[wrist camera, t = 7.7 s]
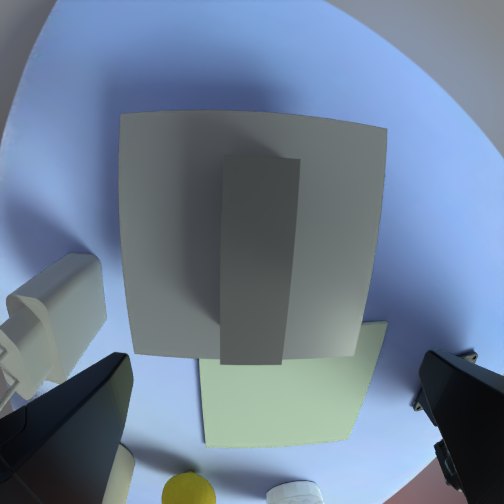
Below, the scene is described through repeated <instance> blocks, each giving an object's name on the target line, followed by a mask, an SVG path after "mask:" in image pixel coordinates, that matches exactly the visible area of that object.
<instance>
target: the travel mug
mask: <svg viewBox="0 0 504 504" xmlns="http://www.w3.org/2000/svg"><path fill="white" fill-rule="evenodd" d="M134 466H135V460H134V457H133V456H132V454H131V453H130V452H129V451H128V450H127V449H126V448H124V447H123V446H122V445H120V444H119V446H118V450H117V453H116V456H115V459H114V463H113V466H112V470H111V473H110V476H109V480H108V483H107V487H106V491H105V494H104V498H103V502H102V504H126V501H127V496H128V492H129V487H130V483H131V479H132V475H133V471H134Z"/></svg>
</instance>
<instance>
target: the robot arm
mask: <svg viewBox="0 0 504 504" xmlns="http://www.w3.org/2000/svg"><path fill="white" fill-rule="evenodd" d="M477 357H478V354H477V353H476V352H472V353H468V354H463V355H459V356H455V355H453V354H450V353H448V352H446V351H443V350H441V349H431V350H428V351H427V352H426V354H425V356H424V359H423V362H422V364H421V367H420V369H419V378H420V381H421V384H422V389H421V391H420V394H419V396H418V398H417V400H416V402H415V404H414V406H413V409H414V411H420V410H424V411H425V413H426V414H427V416H428V417H429V419H430V420H431V422H432V423H433V425H434V426H435V427H436V426H438V428H439V431H440V433H441V435H442V438H443V439H442V440H441V441H440V442H437V443H436V444H435V445H434V448H435V451H436V452H435V453H436V456H437V458H438V461H439V463H440V466H441V469H442V471H443V474H444V477H445V481H446V484H447V485H449V486H453V487H454V488H455V489H456V490H457V491H459V492H463V493H464V495H465V497H466V499H467V502H468V504H504V376H502V375H500V374H497V373H495V372H493V371H490V370H488V369H485V368H483V367H481V366H478V365H476V364H475V361H476V359H477ZM132 387H133V372H132V367H131V362H130V358H129V355H128V354H126V353H120V352H114V353H112V354H110V355H108V356H107V357H105V358H103V359H102V360H100V361H98V362H97V363H95V364H93V365H92V366H90V367H88V368H87V369H85V370H83V371H82V372H80V373H78V374H77V375H75V376H73V377H72V378H70V379H68V380H67V381H65V382H63V383H62V384H60V385H58V386H57V387H55V388H53V389H52V390H50V391H48V392H46V393H45V394H43V395H41V396H40V397H38V398H36V399H35V400H33V401H31V402H29V403H28V404H27V405H26V406H25V405H24V406H22V407H21V408H19V409H17V410H16V411H14V412H12V413H10V414H8V415H6V416H5V417H3V418H1V419H0V504H102V502H103V498H104V494H105V491H106V487H107V483H108V480H109V476H110V473H111V470H112V466H113V463H114V459H115V456H116V453H117V450H118V446H119V443H120V440H121V437H122V434H123V430H124V427H125V422H126V417H127V412H128V407H129V402H130V397H131V392H132Z"/></svg>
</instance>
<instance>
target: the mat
mask: <svg viewBox="0 0 504 504" xmlns="http://www.w3.org/2000/svg"><path fill="white" fill-rule="evenodd" d="M387 325H388V323H387V322H386V321H377V322H362V324H361V328H360V332H359V337H358V341H357V345H356V349H355V352H354V356H346V357H332V358H315V359H290V360H282V365H220V359H199V366H200V382H201V396H202V408H203V420H204V431H205V442H206V447H212V448H267V447H286V446H299V445H309V444H318V443H327V442H334V441H341V440H347V439H348V438H349V436H350V434H351V431H352V429H353V426H354V424H355V422H356V419H357V417H358V414H359V411H360V409H361V406H362V404H363V401H364V398H365V395H366V393H367V390H368V387H369V384H370V381H371V378H372V375H373V372H374V369H375V366H376V363H377V360H378V357H379V353H380V350H381V347H382V343H383V340H384V336H385V333H386V329H387Z"/></svg>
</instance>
